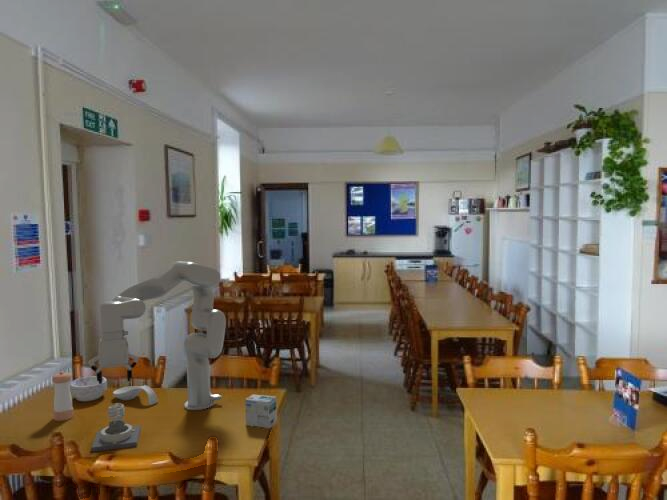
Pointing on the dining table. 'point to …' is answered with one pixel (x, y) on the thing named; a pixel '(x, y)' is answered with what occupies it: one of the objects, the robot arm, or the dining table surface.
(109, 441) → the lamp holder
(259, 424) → the light bulb box
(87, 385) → the marbled white bowl
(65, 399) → the salt shaker
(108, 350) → the robot arm
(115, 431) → the light bulb
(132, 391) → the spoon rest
